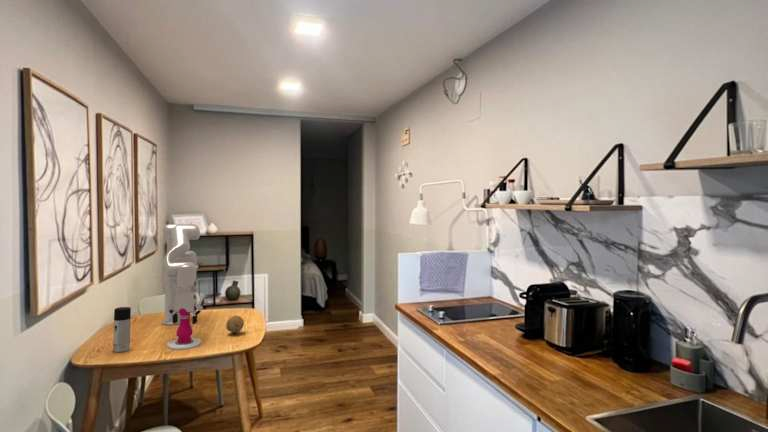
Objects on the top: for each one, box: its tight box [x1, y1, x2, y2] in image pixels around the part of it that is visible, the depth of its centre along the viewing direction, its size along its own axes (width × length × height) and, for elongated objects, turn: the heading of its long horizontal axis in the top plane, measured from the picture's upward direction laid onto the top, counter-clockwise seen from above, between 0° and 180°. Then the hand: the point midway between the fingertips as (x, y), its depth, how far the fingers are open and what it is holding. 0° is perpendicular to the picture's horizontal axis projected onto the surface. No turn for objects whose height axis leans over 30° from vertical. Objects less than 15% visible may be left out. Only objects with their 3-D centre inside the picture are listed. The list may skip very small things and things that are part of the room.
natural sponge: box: [225, 315, 245, 334], centre depth 221 cm, size 9×9×10 cm
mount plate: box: [167, 337, 202, 351], centre depth 202 cm, size 15×15×1 cm
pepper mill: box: [176, 308, 193, 344], centre depth 202 cm, size 7×7×20 cm
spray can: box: [112, 306, 132, 353], centre depth 192 cm, size 7×7×20 cm
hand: (184, 323), depth 202 cm, fingers open, 9 cm apart
